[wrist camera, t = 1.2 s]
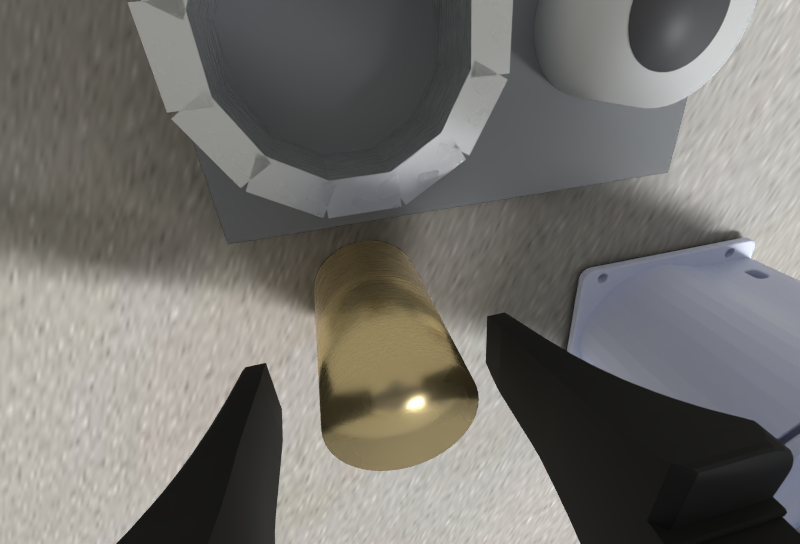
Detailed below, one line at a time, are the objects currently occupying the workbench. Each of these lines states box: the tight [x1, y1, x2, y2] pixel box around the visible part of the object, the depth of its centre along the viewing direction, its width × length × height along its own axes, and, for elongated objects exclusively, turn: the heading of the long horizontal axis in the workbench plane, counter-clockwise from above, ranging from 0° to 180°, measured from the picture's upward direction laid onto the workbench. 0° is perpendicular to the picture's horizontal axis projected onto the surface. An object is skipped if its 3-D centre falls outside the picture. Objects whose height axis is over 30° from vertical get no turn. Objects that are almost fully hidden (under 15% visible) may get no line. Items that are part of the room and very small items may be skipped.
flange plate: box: [193, 0, 757, 244], centre depth 11 cm, size 17×11×4 cm, turn 95°
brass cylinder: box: [314, 241, 479, 471], centre depth 14 cm, size 4×4×7 cm
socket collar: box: [127, 0, 513, 218], centre depth 10 cm, size 8×8×3 cm
